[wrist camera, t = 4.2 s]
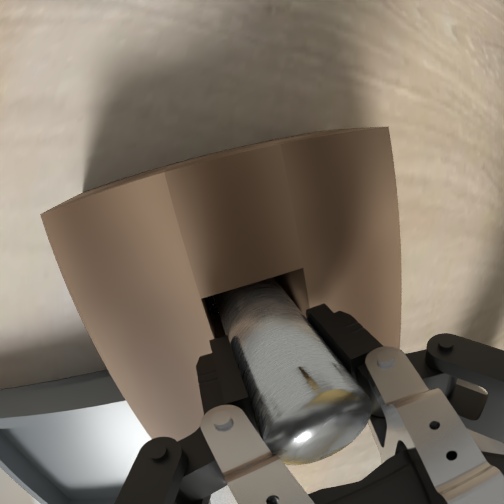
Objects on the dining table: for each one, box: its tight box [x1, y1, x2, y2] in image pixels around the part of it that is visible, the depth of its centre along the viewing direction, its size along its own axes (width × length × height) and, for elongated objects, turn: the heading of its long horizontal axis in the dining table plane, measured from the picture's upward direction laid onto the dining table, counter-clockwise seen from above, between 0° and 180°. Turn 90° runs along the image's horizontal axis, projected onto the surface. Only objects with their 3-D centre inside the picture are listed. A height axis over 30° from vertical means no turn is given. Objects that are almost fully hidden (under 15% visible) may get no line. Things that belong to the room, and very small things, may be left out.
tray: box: [0, 370, 211, 504], centre depth 19 cm, size 16×16×4 cm
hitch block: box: [40, 127, 401, 442], centre depth 16 cm, size 14×14×6 cm
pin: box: [213, 277, 372, 465], centre depth 13 cm, size 3×3×12 cm
